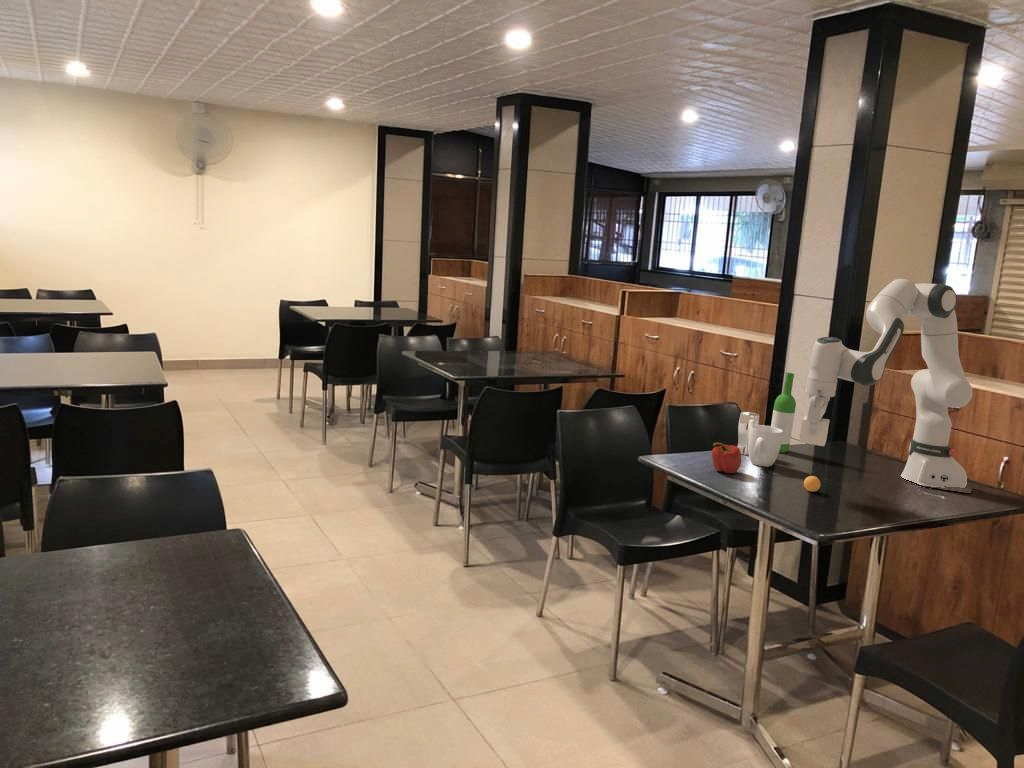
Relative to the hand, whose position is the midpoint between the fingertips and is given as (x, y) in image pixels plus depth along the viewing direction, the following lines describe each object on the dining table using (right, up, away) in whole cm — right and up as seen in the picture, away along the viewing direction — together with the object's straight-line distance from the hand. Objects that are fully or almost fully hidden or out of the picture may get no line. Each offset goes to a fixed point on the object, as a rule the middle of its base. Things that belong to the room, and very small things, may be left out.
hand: (813, 431), depth 259 cm
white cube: (0, -3, 0) cm, 3 cm away
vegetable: (-24, -15, +16) cm, 33 cm away
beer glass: (-9, -11, +44) cm, 46 cm away
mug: (-8, -14, +29) cm, 33 cm away
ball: (0, -17, +2) cm, 17 cm away
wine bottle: (+6, -11, +54) cm, 55 cm away
